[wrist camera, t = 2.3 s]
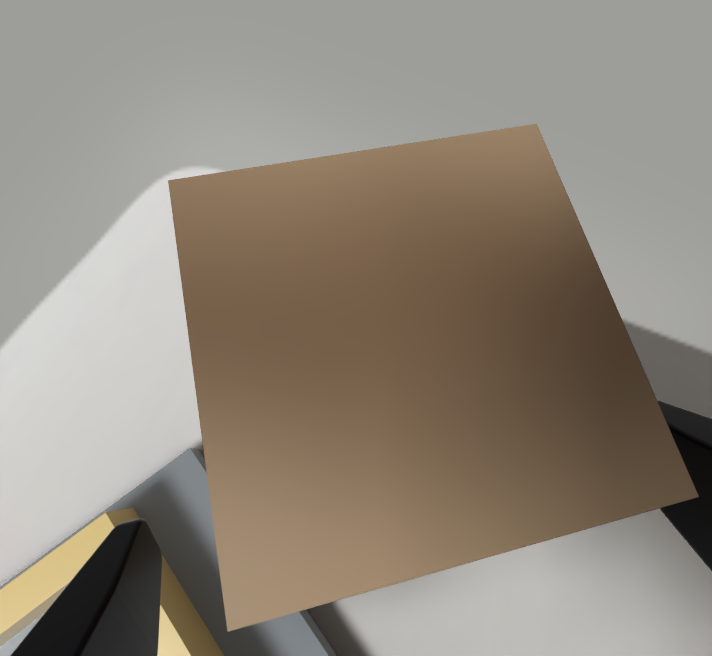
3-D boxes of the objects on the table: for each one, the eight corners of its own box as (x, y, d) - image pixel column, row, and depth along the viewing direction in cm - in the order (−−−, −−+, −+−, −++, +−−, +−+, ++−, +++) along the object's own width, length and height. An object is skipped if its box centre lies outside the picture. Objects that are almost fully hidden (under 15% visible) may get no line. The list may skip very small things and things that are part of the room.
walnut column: (430, 480, 17) (699, 497, 5) (301, 513, 16) (228, 631, 4) (396, 356, 19) (536, 123, 6) (277, 382, 18) (168, 181, 6)
